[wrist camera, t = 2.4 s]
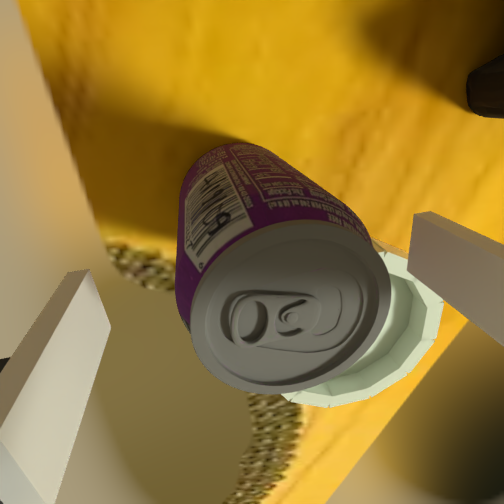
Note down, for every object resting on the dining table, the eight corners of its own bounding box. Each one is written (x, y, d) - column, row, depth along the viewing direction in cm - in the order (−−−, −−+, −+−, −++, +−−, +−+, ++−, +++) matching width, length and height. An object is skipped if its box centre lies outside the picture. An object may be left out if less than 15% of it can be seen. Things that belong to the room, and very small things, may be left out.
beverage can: (182, 253, 21) (178, 417, 10) (176, 138, 18) (163, 207, 7) (286, 249, 22) (377, 392, 12) (298, 142, 19) (436, 205, 9)
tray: (244, 257, 22) (251, 275, 20) (432, 224, 24) (458, 238, 21) (261, 396, 28) (268, 422, 26) (408, 363, 30) (426, 384, 28)
